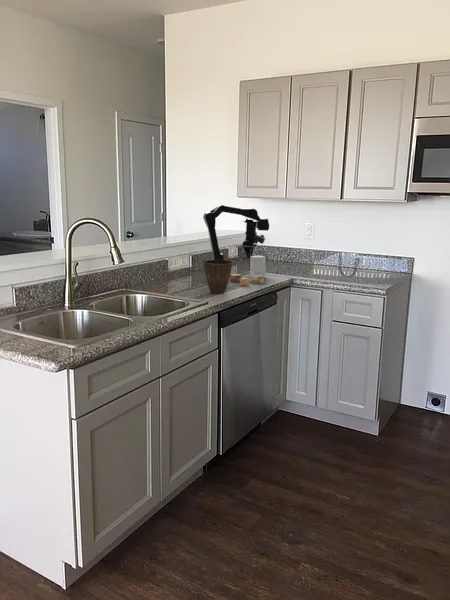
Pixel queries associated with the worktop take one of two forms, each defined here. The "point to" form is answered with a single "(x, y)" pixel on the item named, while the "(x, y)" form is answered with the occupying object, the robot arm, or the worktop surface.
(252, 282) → the pad
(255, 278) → the maple cube
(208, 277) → the plant pot
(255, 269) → the supplement box
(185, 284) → the worktop surface
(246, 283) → the peach rounded piece
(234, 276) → the walnut cube
